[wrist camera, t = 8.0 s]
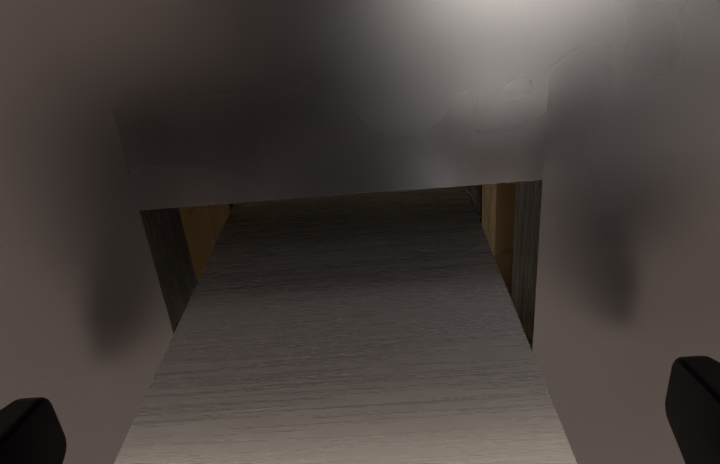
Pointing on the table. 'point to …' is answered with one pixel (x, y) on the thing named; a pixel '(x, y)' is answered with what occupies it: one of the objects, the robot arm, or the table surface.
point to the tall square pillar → (349, 344)
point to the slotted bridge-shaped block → (361, 179)
